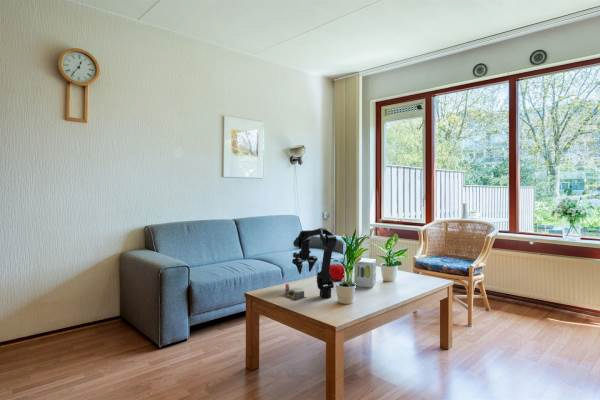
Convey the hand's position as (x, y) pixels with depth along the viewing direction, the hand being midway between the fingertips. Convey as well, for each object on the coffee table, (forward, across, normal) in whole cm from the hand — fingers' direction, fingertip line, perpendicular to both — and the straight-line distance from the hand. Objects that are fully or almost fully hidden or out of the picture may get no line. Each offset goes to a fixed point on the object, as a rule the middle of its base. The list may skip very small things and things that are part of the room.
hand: (304, 272), depth 241 cm
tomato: (+11, -35, -2) cm, 37 cm away
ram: (+10, +18, +4) cm, 21 cm away
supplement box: (+11, -40, +20) cm, 46 cm away
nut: (+10, +18, +11) cm, 23 cm away
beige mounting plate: (+11, +18, +8) cm, 22 cm away
